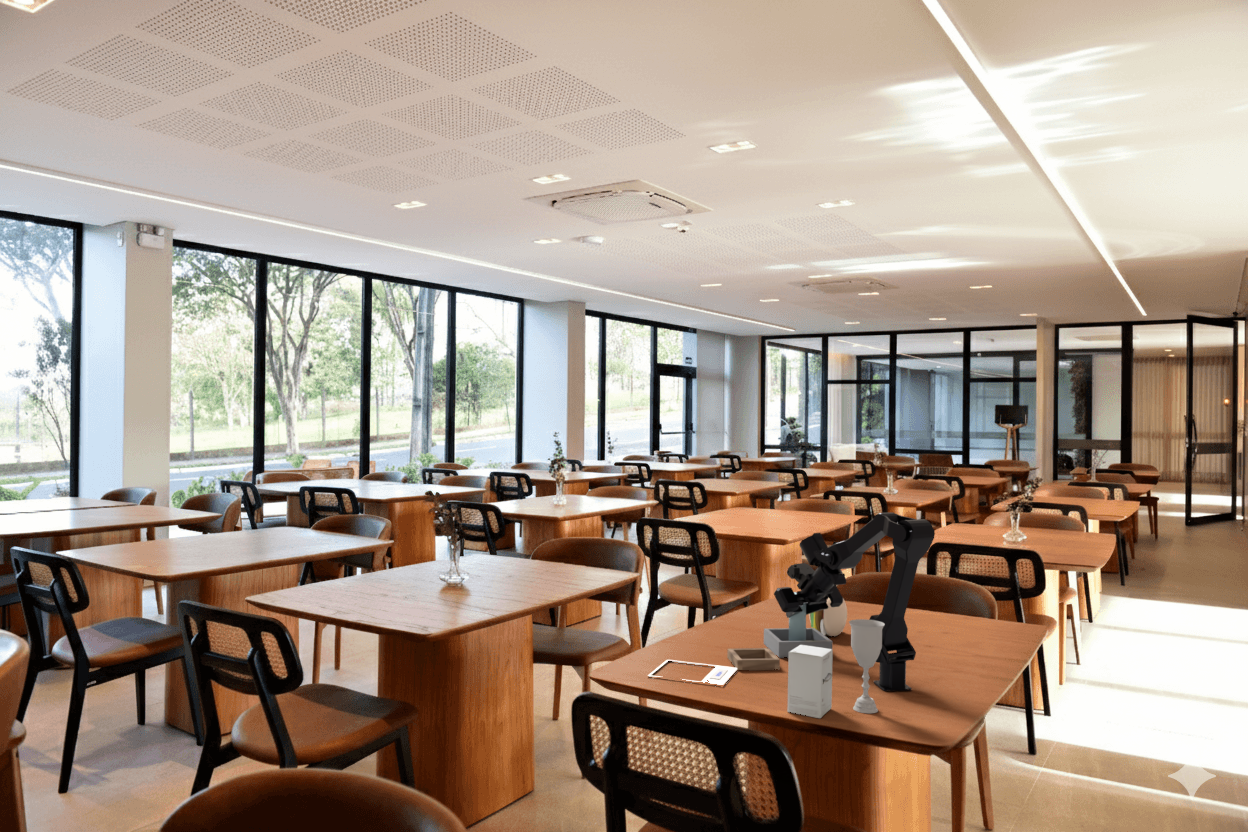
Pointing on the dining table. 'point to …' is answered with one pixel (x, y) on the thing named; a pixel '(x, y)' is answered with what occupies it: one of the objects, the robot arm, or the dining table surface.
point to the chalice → (866, 656)
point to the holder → (753, 659)
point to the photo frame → (714, 677)
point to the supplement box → (810, 681)
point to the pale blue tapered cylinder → (798, 625)
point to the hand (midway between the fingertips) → (794, 615)
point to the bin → (782, 646)
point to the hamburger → (830, 619)
